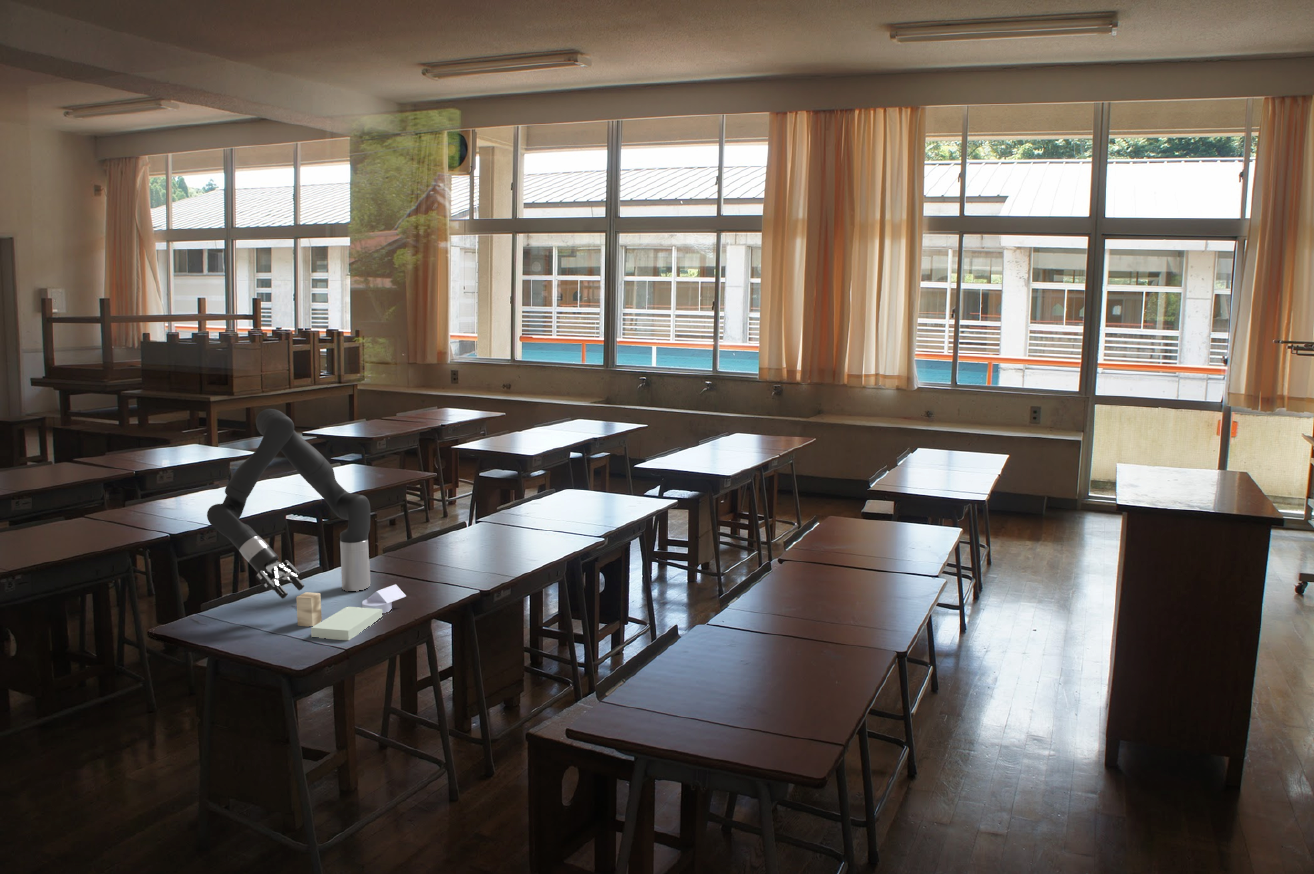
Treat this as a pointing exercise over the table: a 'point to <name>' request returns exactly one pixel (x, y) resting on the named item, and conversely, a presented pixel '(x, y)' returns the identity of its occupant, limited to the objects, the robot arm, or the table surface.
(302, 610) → the birch block
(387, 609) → the wedge on round base
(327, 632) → the sage board
